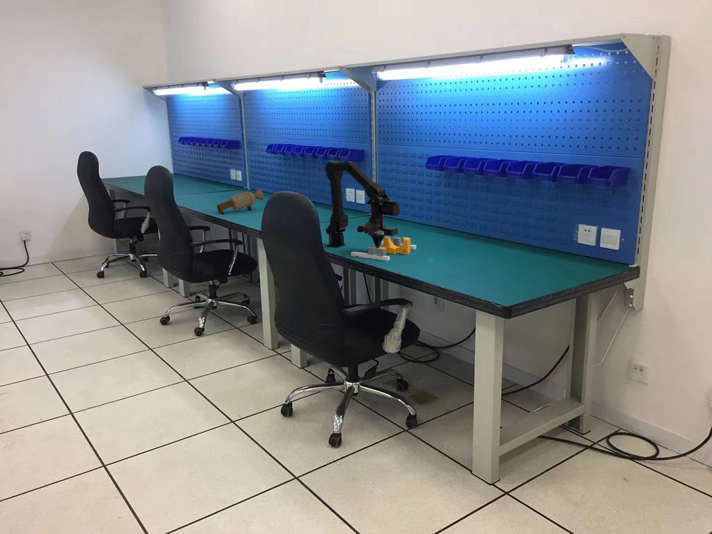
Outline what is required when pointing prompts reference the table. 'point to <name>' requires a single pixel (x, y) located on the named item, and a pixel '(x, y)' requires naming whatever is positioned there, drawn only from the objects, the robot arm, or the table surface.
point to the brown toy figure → (241, 201)
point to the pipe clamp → (394, 249)
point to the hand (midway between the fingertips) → (377, 248)
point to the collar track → (381, 250)
